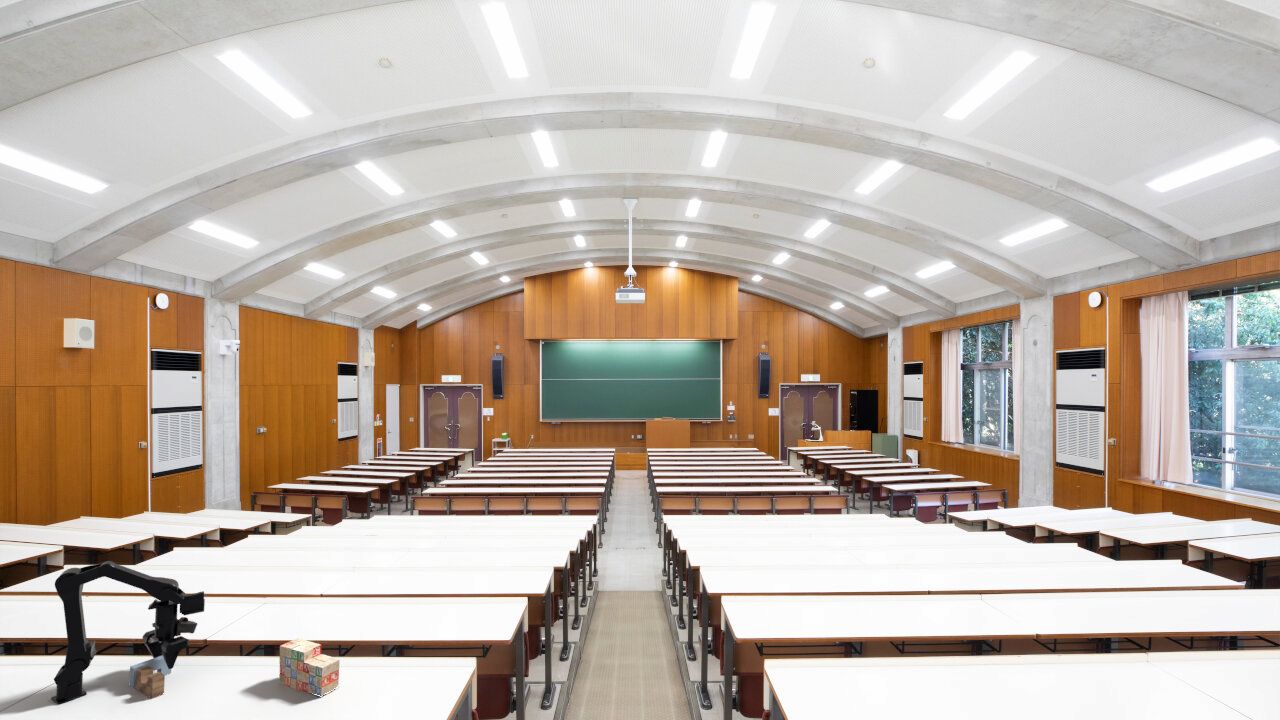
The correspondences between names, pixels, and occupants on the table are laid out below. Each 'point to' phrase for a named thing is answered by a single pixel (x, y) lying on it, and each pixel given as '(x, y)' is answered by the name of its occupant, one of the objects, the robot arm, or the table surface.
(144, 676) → the walnut notched block
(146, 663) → the slate notched plate
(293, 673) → the stack of blocks
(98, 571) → the robot arm
